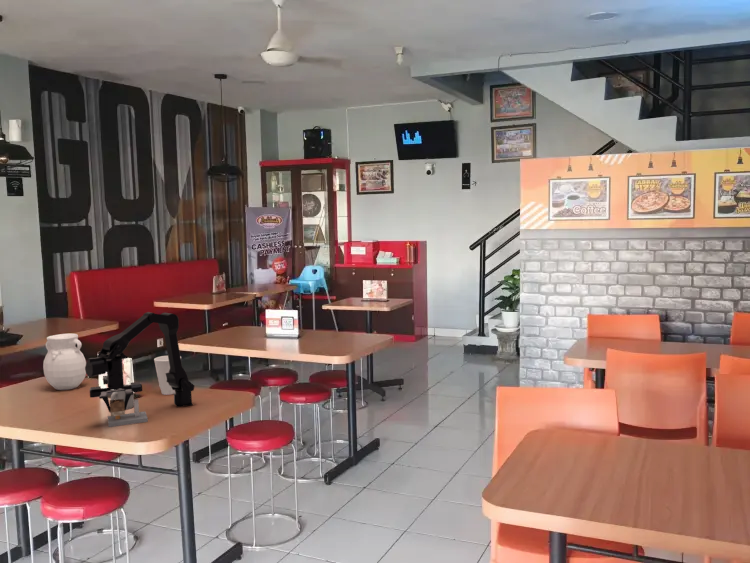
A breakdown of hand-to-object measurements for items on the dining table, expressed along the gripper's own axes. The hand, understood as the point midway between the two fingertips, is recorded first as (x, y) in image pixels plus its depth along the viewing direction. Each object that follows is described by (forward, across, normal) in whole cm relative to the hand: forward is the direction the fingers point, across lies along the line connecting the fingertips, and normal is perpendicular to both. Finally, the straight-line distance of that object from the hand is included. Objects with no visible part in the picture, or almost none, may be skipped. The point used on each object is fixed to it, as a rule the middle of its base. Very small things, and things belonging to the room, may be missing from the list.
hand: (117, 411), depth 253 cm
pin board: (+4, -3, 0) cm, 5 cm away
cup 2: (+5, -23, -37) cm, 44 cm away
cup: (+5, -2, -20) cm, 21 cm away
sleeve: (+1, 0, 0) cm, 1 cm away
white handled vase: (+4, +20, -71) cm, 74 cm away
